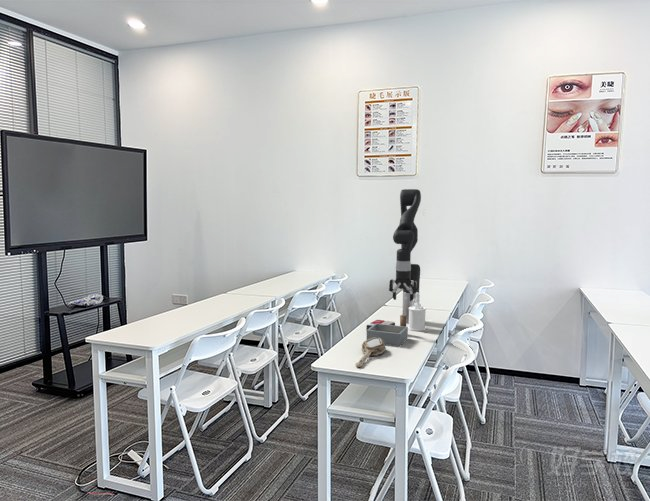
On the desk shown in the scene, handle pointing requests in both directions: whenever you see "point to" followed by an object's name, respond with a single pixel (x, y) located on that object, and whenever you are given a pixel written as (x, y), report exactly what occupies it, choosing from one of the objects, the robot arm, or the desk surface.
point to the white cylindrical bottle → (417, 316)
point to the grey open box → (388, 333)
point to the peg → (403, 320)
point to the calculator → (379, 323)
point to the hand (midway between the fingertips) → (403, 300)
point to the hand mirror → (371, 349)
